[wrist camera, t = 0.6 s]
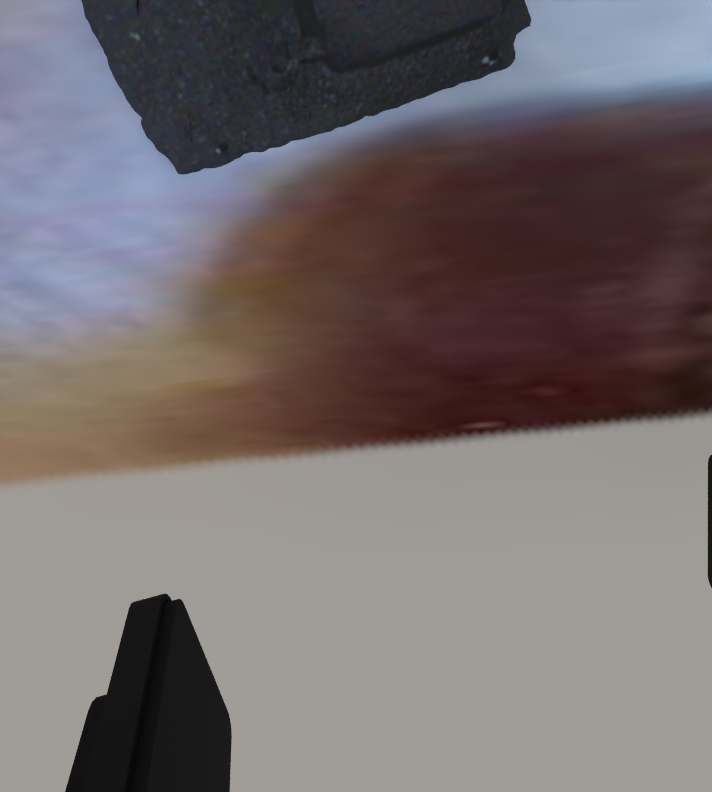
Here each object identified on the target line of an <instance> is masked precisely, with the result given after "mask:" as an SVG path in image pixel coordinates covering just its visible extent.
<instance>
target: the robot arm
mask: <svg viewBox="0 0 712 792" xmlns="http://www.w3.org/2000/svg"><path fill="white" fill-rule="evenodd" d="M708 579H709V583H710V585H711V587H712V455H711V456H710V458H709V461H708ZM230 762H231V723H230V718H229V714H228V711H227V708H226V706H225V703H224V701H223V698H222V696H221V694H220V691H219V689H218V686H217V684H216V681H215V679H214V676H213V674H212V671H211V669H210V667H209V664H208V662H207V659H206V657H205V654H204V652H203V649H202V647H201V645H200V642H199V640H198V637H197V635H196V632H195V630H194V627H193V625H192V623H191V620H190V618H189V615H188V613H187V611H186V608H185V606H184V604H183V602H182V600H180V599H177V600H173V601H172V600H171V598H170V597H169V596H168V595H167V594H162V595H158V596H154V597H151V598H147V599H143V600H140V601H136V602H133V603H132V604H131V606H130V608H129V611H128V615H127V619H126V622H125V626H124V630H123V634H122V638H121V642H120V646H119V649H118V654H117V657H116V661H115V665H114V669H113V673H112V676H111V680H110V684H109V688H108V692H107V695H104V696H100V697H96V698H95V700H94V701H93V702H92V704H91V706H90V708H89V711H88V714H87V717H86V721H85V724H84V728H83V731H82V735H81V738H80V742H79V745H78V749H77V752H76V756H75V760H74V763H73V766H72V770H71V773H70V777H69V781H68V784H67V788H66V791H65V792H229V790H230Z"/></svg>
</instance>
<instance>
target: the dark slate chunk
mask: <svg viewBox="0 0 712 792" xmlns="http://www.w3.org/2000/svg"><path fill="white" fill-rule="evenodd" d="M82 3H83V7H84V12H85V17H86V19H87V20H88V21H89V24H90V26H91V29H92V31H93V33H94V34H95V36H96V37H97V39H98V41H99V42H100V44H101V47H102V48H103V50H104V53H105V55H106V56H107V59H108V64H109V67H110V69H111V71H112V74H113V76H114V78H115V80H116V82H117V84H118V85H119V87H120V88H121V89H122V91H123V93H124V95H125V97H126V99H127V101H128V102H129V104H130V105H131V107H132V108H133V109H134V111H135V112H137V113H138V114H139V115H140V116H141V117H142V120H141V125H142V127H143V130H144V132H145V134H146V136H147V137H148V138H149V139H150V140H151V141H152V142H153V144H154V145H155V147H156V149H157V150H158V151H159V152H161V153H162V154H163V155H165V156H166V157H168V159H169V160H170V161H171V163H172V164H173V165H174V167H175V169H176V171H177V172H178V174H188V173H191V172H197V171H200V170H201V169H203V168H217V167H220V166H223V165H225V164H227V163H230V162H231V161H233V160H235V159H237V158H239V157H241V156H242V155H243V154H245V153H249V152H264V151H266V150H267V149H269V148H273V147H281V146H283V145H286V144H287V143H289V142H290V141H293V140H300V139H304V138H308V137H311V136H314V135H317V134H320V133H324V132H329V131H332V130H333V129H335V128H337V127H342V126H346V125H348V124H351V123H353V122H355V121H358V120H360V119H362V118H363V117H364V116H374V115H377V114H378V113H380V112H382V111H385V110H389V109H393V108H397V107H399V106H401V105H403V104H406V103H409V102H411V101H413V100H415V99H420V98H423V97H426V96H428V95H430V94H433V93H435V92H437V91H440V90H442V89H446V88H451V87H454V86H456V85H458V84H460V83H463V82H467V81H471V80H476V79H480V78H482V77H484V76H486V75H488V74H490V73H492V72H496V71H499V70H503V69H505V68H507V67H509V66H510V65H511V64H512V63H513V61H514V59H515V51H514V47H513V43H514V40H515V38H516V35H517V34H518V33H519V32H520V31H521V30H523V29H524V28H526V27H528V26H530V23H531V17H530V15H529V12H528V9H527V6H526V3H525V0H82Z"/></svg>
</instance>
